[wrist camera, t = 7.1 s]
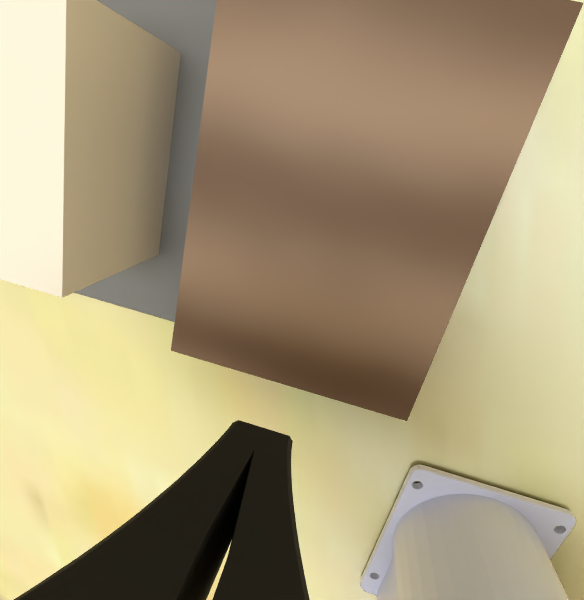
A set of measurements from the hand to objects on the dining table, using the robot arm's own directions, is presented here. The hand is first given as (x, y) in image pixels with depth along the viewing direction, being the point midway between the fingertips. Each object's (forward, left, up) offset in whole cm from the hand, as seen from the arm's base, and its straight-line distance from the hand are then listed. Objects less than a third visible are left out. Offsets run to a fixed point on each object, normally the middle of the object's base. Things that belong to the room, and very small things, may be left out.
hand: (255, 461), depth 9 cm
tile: (+5, +8, -6) cm, 11 cm away
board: (+5, 0, -9) cm, 11 cm away
